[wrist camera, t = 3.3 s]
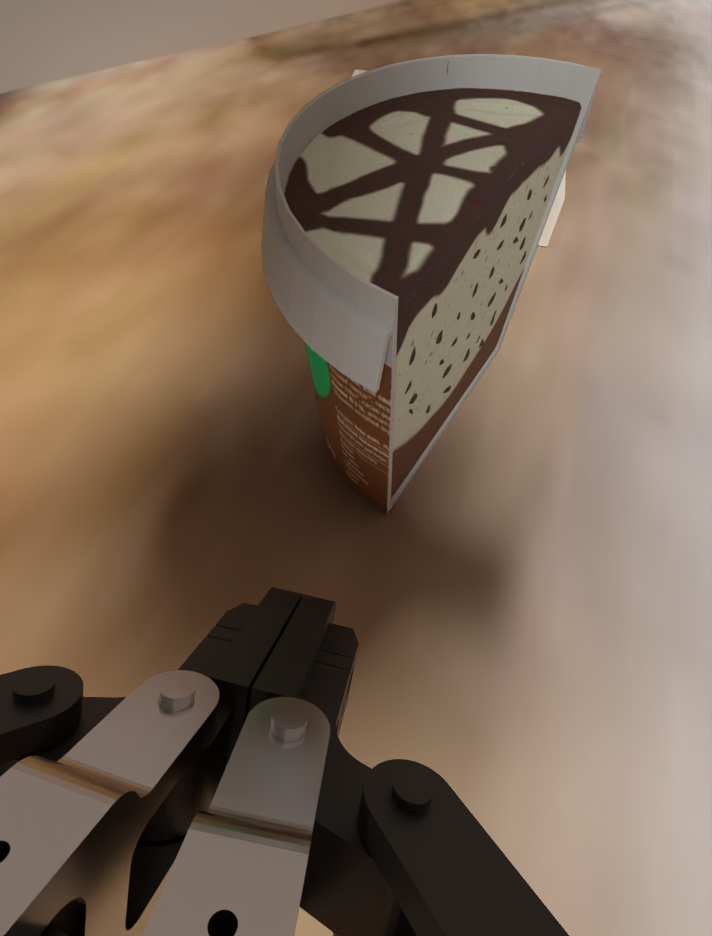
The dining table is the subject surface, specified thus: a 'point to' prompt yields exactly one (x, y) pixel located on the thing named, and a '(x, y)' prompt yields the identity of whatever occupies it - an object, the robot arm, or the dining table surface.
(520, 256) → the food container
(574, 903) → the dining table surface
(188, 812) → the robot arm
